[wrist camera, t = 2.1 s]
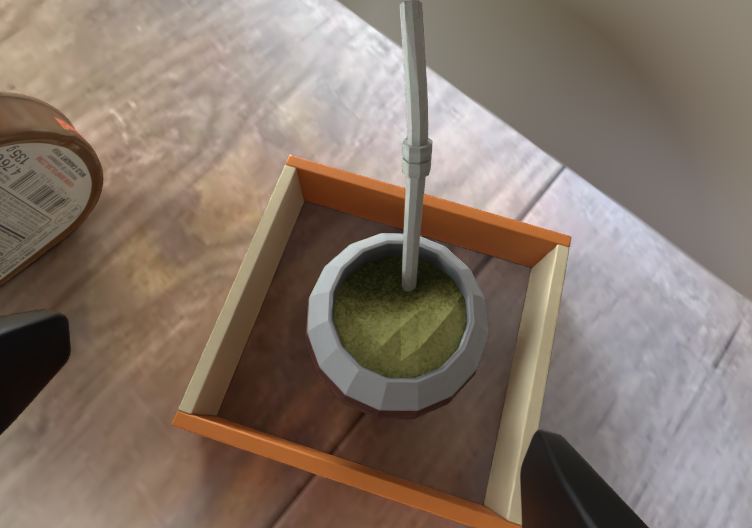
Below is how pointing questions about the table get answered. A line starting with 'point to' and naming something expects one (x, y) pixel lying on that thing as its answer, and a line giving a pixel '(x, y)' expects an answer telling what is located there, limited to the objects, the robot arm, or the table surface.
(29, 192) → the tin
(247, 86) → the table surface
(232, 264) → the table surface
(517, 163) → the table surface
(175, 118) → the table surface
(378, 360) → the mate gourd
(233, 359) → the rectangular frame
